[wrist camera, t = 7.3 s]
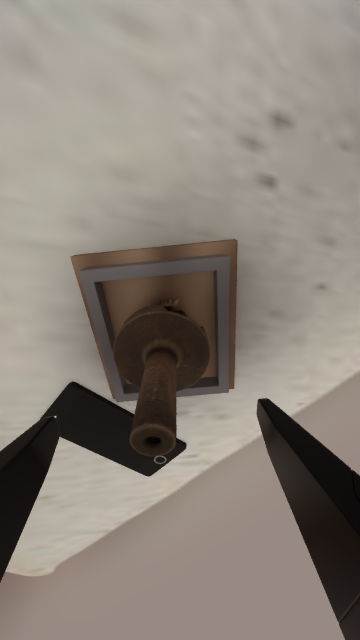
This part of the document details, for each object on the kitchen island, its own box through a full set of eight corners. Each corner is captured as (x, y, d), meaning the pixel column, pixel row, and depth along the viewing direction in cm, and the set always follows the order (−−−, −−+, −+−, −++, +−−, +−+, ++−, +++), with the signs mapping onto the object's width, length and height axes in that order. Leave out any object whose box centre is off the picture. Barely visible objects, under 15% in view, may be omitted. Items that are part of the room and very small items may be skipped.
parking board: (234, 239, 18) (237, 240, 17) (231, 382, 25) (234, 388, 24) (75, 255, 18) (70, 256, 17) (115, 392, 25) (113, 399, 24)
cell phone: (150, 471, 32) (149, 478, 31) (39, 419, 27) (35, 425, 26) (187, 441, 29) (188, 447, 29) (73, 377, 24) (69, 383, 23)
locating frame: (225, 253, 18) (229, 256, 16) (225, 382, 23) (228, 392, 22) (85, 267, 18) (77, 270, 16) (120, 391, 24) (116, 402, 22)
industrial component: (153, 271, 18) (119, 341, 7) (218, 312, 20) (273, 419, 9) (107, 349, 21) (34, 480, 10) (167, 378, 23) (160, 517, 12)
